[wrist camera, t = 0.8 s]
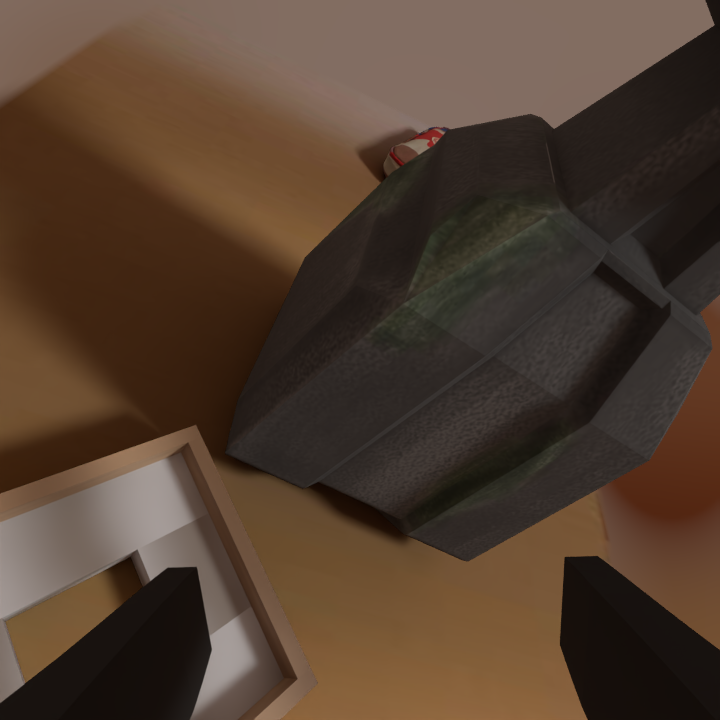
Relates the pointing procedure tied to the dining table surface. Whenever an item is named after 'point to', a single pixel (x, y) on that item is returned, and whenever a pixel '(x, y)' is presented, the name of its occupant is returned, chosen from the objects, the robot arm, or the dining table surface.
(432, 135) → the pencil case
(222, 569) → the box
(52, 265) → the dining table surface
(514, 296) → the dark faceted flask
